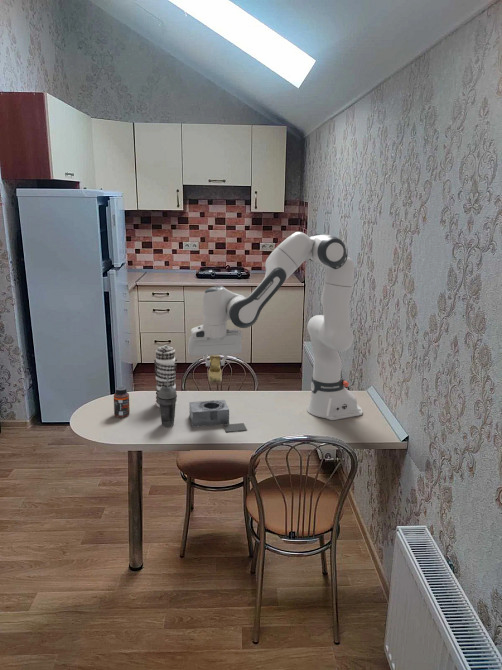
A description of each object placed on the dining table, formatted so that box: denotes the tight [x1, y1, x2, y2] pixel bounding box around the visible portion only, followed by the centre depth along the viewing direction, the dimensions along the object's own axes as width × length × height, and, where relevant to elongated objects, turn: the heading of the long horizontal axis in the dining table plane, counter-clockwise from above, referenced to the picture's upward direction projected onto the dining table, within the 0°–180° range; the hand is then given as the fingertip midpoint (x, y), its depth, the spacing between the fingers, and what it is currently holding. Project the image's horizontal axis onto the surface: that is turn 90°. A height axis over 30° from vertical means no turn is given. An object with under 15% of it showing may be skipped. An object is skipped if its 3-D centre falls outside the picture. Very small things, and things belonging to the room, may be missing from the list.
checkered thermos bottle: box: [153, 344, 178, 408], centre depth 215 cm, size 9×9×25 cm
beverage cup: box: [158, 376, 178, 428], centre depth 197 cm, size 7×7×20 cm
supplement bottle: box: [113, 386, 131, 419], centre depth 205 cm, size 6×6×11 cm
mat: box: [222, 422, 248, 433], centre depth 197 cm, size 8×6×1 cm
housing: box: [188, 399, 230, 428], centre depth 203 cm, size 14×10×6 cm
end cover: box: [207, 355, 223, 384], centre depth 198 cm, size 5×5×10 cm
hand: (215, 365), depth 198 cm, fingers closed on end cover, 4 cm apart
